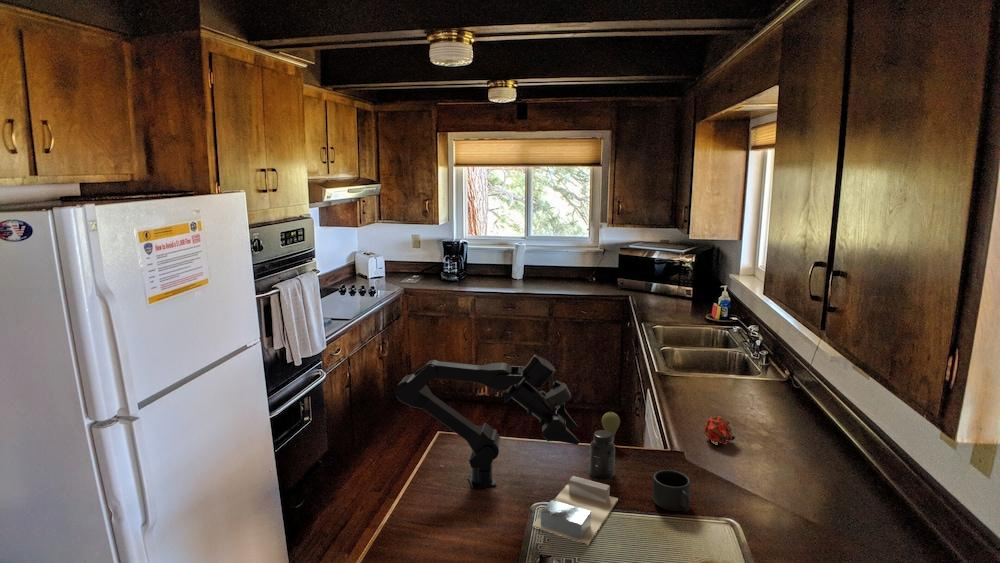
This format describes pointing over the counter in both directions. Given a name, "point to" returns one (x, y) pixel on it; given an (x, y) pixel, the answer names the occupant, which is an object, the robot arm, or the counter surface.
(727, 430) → the dragon fruit
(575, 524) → the sliding jaw
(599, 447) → the supplement bottle
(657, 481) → the mug
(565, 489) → the vise
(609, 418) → the light bulb
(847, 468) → the counter surface
